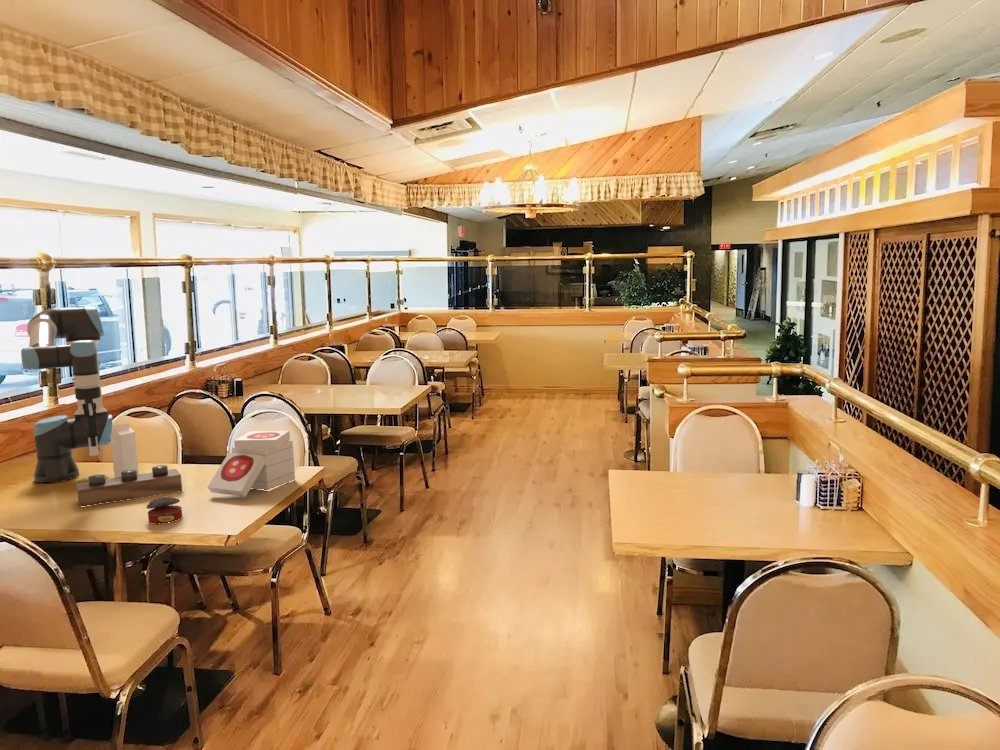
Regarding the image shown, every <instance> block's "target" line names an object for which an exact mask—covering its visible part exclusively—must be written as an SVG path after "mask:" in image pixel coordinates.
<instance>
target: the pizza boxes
mask: <svg viewBox="0 0 1000 750" xmlns="http://www.w3.org/2000/svg"><path fill="white" fill-rule="evenodd" d="M290 434H291V433H290V430H250V431H248V432H246V433H245V434H243V435H241V436H239V437H237V438H236V439H234V446H232V447H231V451H232V452H228V453H227V454H226V456H225V458H224V459H223V461H222V462H221V464H220V466H219V468H218V469H217V471H216V472H215V473H214V476H213V477H212V479H211V480H210V482H209V483H208V485H207V487H206V488H207V489H209V491H210V493H213V494H222V495H230V496H237V497H238V496H239V497H247V496H248V494H249V492H250V491H251V490H250V489H251V488H253V489H264V490H269V489H271V488H274V487H276V486H279V485H282V484H284V483H286V482H289V481H292V480H294V479H295V480H296V475H295V472H296V471H295V459H294V458H295V457H294V444H293V442H294V441H293V440H291V435H290Z"/></svg>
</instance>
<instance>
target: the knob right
mask: <svg viewBox="0 0 1000 750" xmlns="http://www.w3.org/2000/svg"><path fill="white" fill-rule="evenodd" d="M151 470H152V473H153V475H155V476H160V475H165V474H167V473H168V470H169V468H168V465H164V464H163V465H161V464H160V465H156V466H152V467H151Z"/></svg>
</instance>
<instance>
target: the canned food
mask: <svg viewBox="0 0 1000 750" xmlns="http://www.w3.org/2000/svg"><path fill="white" fill-rule="evenodd" d="M180 501H181V500H180V499H179V498H176V497H173V496H172V497H170V496H161V497H157V498H154V499H152V500H151V501H150V502H148V504H147V505H146V507H145V508H146V509H149V511H147V516H148V517H147V518H148V523H149V522H150V523H149V524H151V523H153V525H162V524H161V523H166V524H169V523H168V522H171V523H173V522H172V521H175V520H178V519H180V518H181V517H182V518H183V510H182V507H181V506H180V505H175V504H178V503H180ZM182 518H181V519H182ZM181 519H180V520H181ZM178 521H179V520H178ZM175 522H176V521H175ZM154 523H155V524H154ZM159 523H160V524H159Z"/></svg>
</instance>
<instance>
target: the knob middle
mask: <svg viewBox="0 0 1000 750" xmlns="http://www.w3.org/2000/svg"><path fill="white" fill-rule="evenodd" d="M136 478H137V470H125V471H122V472H121V479H122V480H126V481H127V480H133V479H136Z"/></svg>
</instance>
